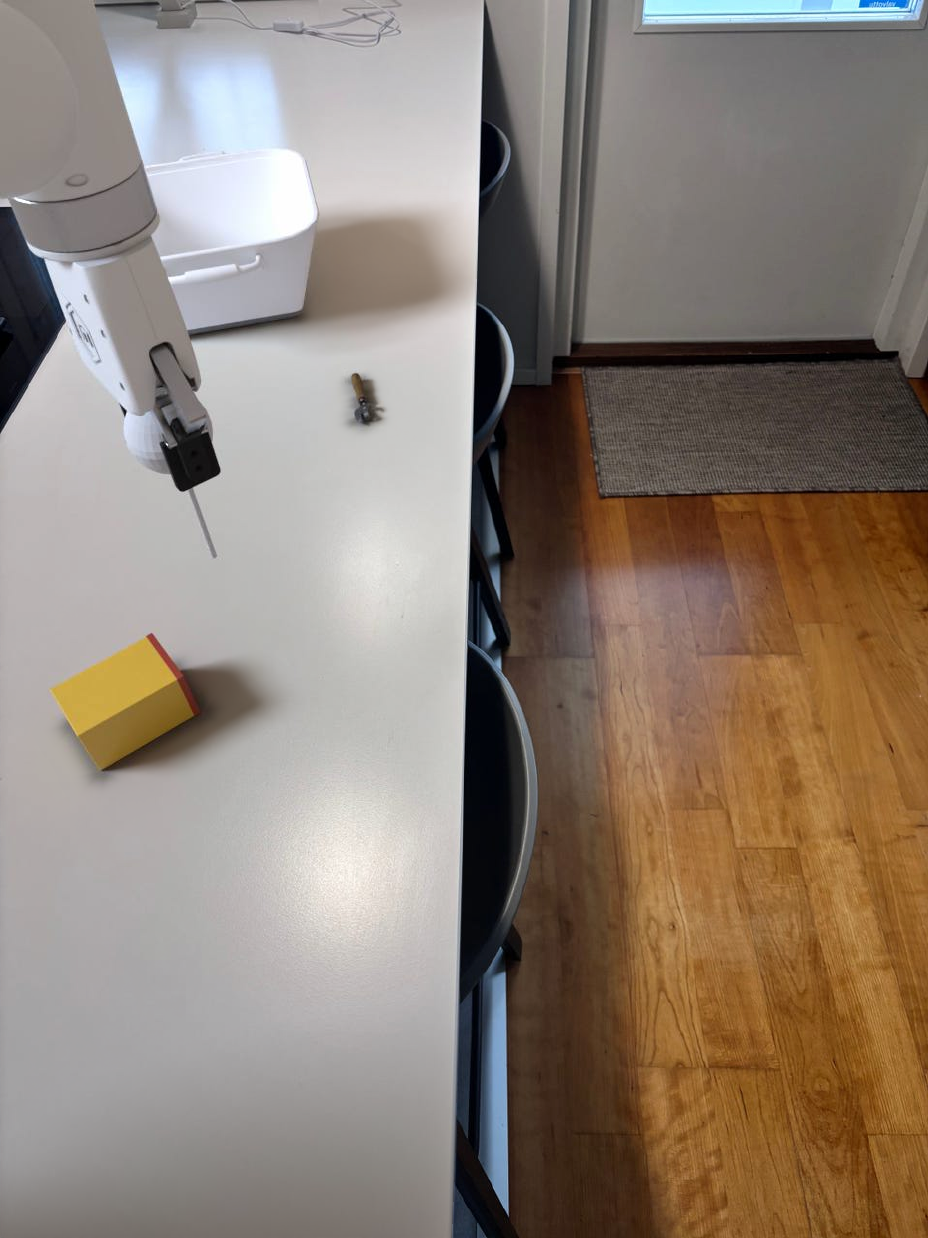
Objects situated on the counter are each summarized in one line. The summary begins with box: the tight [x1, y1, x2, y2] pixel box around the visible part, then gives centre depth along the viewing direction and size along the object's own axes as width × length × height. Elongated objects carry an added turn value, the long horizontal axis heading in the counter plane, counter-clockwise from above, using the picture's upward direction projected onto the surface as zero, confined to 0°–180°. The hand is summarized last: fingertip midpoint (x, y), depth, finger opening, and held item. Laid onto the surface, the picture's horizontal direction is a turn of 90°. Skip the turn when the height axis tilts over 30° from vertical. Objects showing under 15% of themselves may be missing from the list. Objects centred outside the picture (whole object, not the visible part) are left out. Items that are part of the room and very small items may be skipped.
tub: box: [144, 147, 320, 336], centre depth 121 cm, size 34×27×13 cm
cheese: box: [49, 632, 201, 771], centre depth 78 cm, size 9×6×5 cm
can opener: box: [350, 372, 375, 425], centre depth 108 cm, size 9×2×1 cm, turn 7°
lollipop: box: [123, 387, 218, 559], centre depth 69 cm, size 6×6×15 cm
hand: (176, 455), depth 67 cm, fingers closed on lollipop, 6 cm apart
